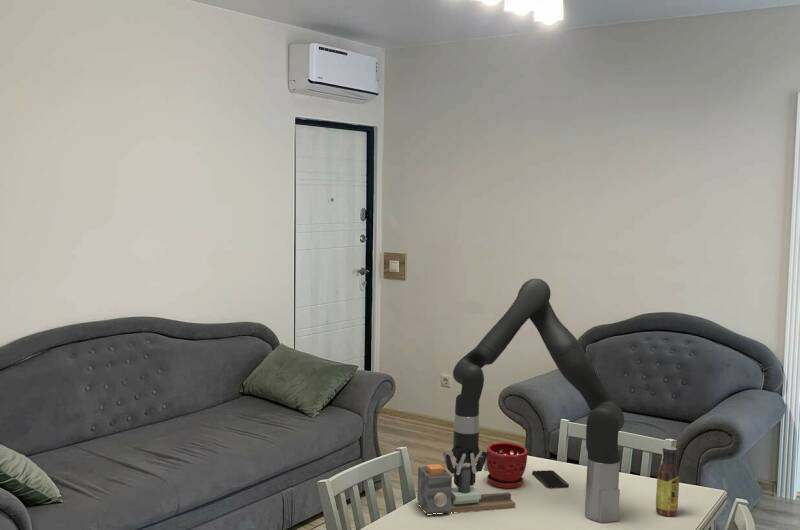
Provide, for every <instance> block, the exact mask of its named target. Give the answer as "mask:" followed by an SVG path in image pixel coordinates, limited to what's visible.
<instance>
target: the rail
mask: <svg viewBox="0 0 800 530" xmlns="http://www.w3.org/2000/svg"><path fill="white" fill-rule="evenodd" d="M417 471H418V472H417V505H418V504H419V505H420V506H421V508H422V509H423V510H424V511H425V512H426V513H427V514H433V513H436V514H437V513H451V512H452V513H453V514H455V513H454V512H464V513H469V512H468V511H475V512H482V511H483V510H486V511H493V510H495V509H497V510H506V509H516V502H515V501H514V500H513V499H512V494H511V493H510V492H509V491H508V492H506V491H505V492H497V493H494V492H493V493H484V494H483V493H481V499H479V502H477V503H466V504H455V505H454V504H453V498H452V497H451V492H452V488H453V480H452V479H453V476H452V475H451V474H450V473H449V472H448V470H446V469H444V474H437V475H429V474H428V473H427V472H426V466H418V467H417ZM421 508H420V509H421ZM481 510H482V511H481ZM483 512H484V511H483Z"/></svg>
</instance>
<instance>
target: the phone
mask: <svg viewBox="0 0 800 530" xmlns="http://www.w3.org/2000/svg"><path fill="white" fill-rule="evenodd" d="M531 475H532V476H533V477H534V478H535V479H537V480H538V481H539V482H540V483H541V485H543V486H544V487H545V488H546V489H548V490H549V489H557V488H558V489H569V488H570V484H569V483H568V482H567V481H566V480H564V478H562V477H561V476H560V475H559V474H558V473H557V472H556V471H554V470H549V469H548V470H532V472H531Z"/></svg>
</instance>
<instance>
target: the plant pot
mask: <svg viewBox="0 0 800 530" xmlns="http://www.w3.org/2000/svg"><path fill="white" fill-rule="evenodd" d="M500 450H502V452H501V453H500ZM486 452H487V453H488V455H487V467H488V471H489V472H488V473H489V474H488V475H487V481H488V482H489V483H490V484H491V485H493V486H495V487H499V488H502V489H514V488H517V487H520V486H521V485H522V484H523V482H524V478H523V475H524V473H525V470H526V466H527V463H528V449H527V448H526V447H525V446H522V445H520V444H517V443H511V442H495V443H494V442H493V443H491V444H489V445H487V447H486ZM511 452H512V454H511ZM517 453H518V454H517ZM503 454H504V455H503Z"/></svg>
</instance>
